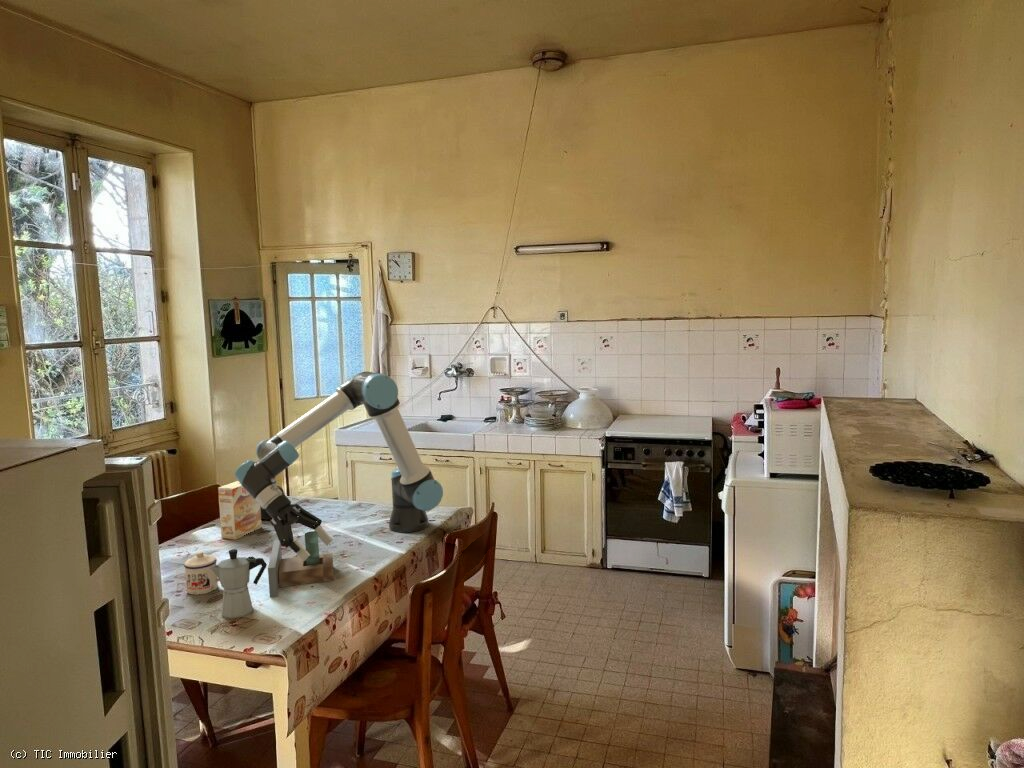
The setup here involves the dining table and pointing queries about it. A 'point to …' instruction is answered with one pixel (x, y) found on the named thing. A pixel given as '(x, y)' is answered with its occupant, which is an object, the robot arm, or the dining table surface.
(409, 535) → the dining table surface
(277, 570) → the wall
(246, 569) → the coffee maker
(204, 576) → the teacup with lid
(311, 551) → the dowel
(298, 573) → the socket block
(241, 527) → the coffeecake box
